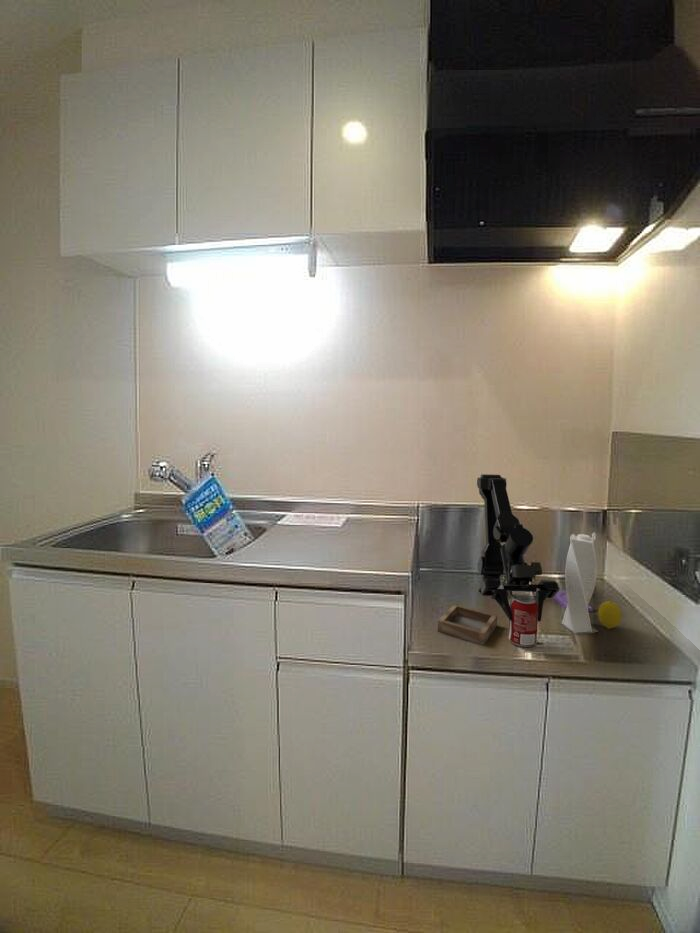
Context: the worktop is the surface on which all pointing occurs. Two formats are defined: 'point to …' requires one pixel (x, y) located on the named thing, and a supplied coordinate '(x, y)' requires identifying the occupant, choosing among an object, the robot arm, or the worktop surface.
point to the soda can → (523, 620)
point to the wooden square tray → (467, 624)
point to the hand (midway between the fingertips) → (525, 620)
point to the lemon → (609, 614)
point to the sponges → (564, 599)
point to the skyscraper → (579, 583)
